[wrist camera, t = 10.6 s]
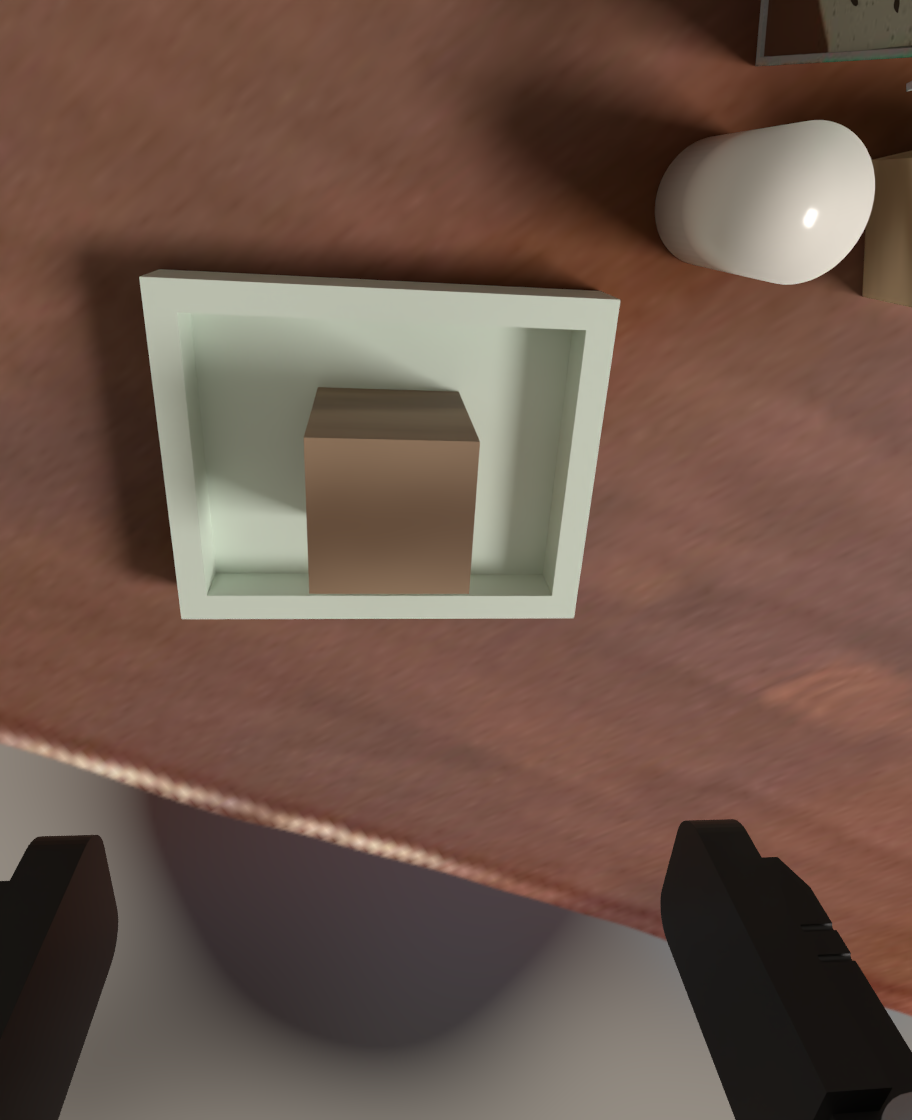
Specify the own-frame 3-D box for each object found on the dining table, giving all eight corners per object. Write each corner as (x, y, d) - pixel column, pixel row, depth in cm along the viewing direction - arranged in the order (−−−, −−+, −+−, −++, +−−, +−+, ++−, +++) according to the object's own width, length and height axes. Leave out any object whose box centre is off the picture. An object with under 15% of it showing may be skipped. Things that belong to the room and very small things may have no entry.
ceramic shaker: (665, 131, 24) (749, 114, 19) (781, 139, 25) (894, 125, 19) (645, 262, 26) (716, 281, 21) (753, 268, 26) (850, 287, 21)
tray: (159, 269, 25) (139, 276, 22) (600, 290, 26) (620, 299, 24) (195, 588, 30) (181, 619, 28) (560, 589, 32) (573, 618, 29)
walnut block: (317, 386, 26) (303, 437, 21) (458, 391, 27) (479, 441, 21) (321, 517, 28) (309, 593, 23) (451, 519, 29) (469, 593, 24)
